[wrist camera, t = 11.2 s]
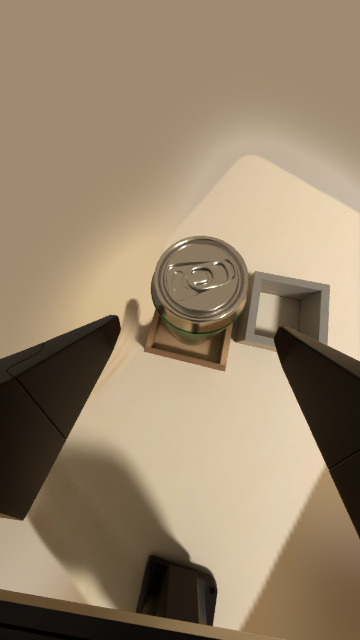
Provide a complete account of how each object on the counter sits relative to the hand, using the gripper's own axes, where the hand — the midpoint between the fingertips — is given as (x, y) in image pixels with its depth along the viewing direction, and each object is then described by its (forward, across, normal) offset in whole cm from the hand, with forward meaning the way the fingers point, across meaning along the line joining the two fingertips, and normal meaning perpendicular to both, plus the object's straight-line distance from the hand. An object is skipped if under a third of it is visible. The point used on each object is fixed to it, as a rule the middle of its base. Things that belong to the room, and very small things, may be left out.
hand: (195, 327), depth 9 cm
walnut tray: (+9, 0, +6) cm, 11 cm away
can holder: (+10, -10, +5) cm, 15 cm away
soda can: (+8, 0, +6) cm, 10 cm away
